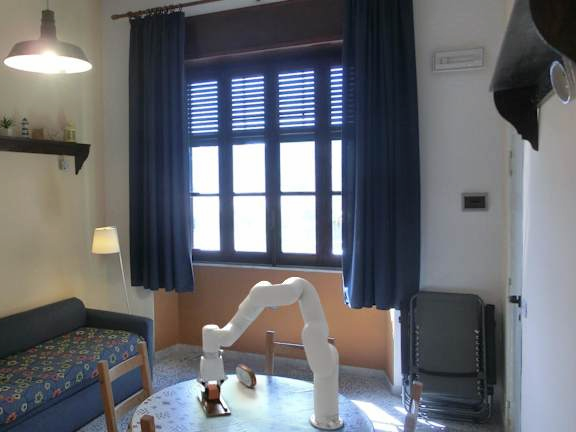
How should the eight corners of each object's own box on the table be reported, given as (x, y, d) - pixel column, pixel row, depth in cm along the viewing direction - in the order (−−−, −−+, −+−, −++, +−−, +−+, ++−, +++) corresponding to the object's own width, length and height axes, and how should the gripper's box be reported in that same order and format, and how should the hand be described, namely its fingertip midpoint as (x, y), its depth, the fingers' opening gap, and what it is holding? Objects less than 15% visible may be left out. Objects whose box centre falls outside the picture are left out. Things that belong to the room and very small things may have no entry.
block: (206, 393, 219) (206, 384, 219) (215, 392, 220) (215, 383, 220) (209, 399, 214) (209, 390, 213) (218, 398, 214) (218, 389, 214)
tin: (257, 389, 232) (256, 371, 231) (251, 390, 230) (250, 372, 230) (240, 378, 245) (239, 361, 245) (234, 379, 244) (234, 362, 243)
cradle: (230, 414, 208) (230, 403, 207) (207, 417, 206) (207, 405, 205) (219, 394, 227) (218, 384, 227) (197, 397, 225) (197, 386, 225)
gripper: (228, 349, 221) (229, 389, 222) (190, 353, 218) (192, 393, 219) (232, 355, 213) (233, 396, 215) (194, 359, 210) (195, 401, 212)
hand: (212, 394), depth 217 cm, fingers closed on block, 4 cm apart
